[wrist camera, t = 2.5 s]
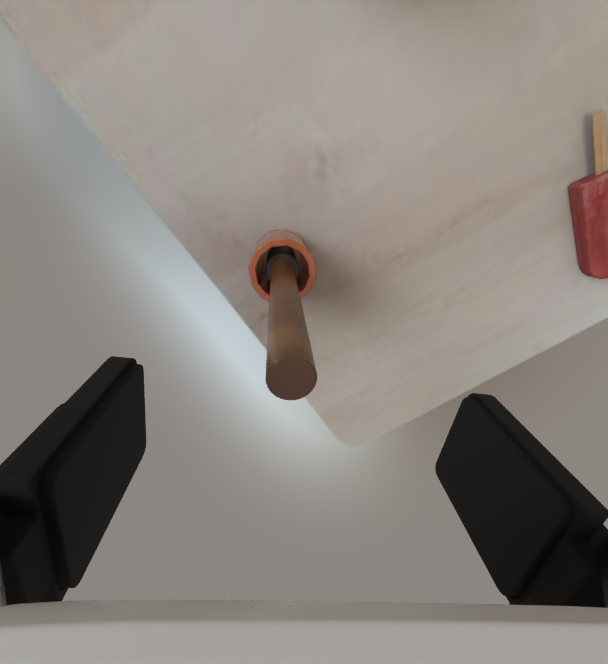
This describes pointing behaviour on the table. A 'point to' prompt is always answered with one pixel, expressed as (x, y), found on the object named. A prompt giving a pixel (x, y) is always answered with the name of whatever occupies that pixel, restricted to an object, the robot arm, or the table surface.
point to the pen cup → (260, 259)
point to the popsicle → (593, 207)
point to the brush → (287, 330)
